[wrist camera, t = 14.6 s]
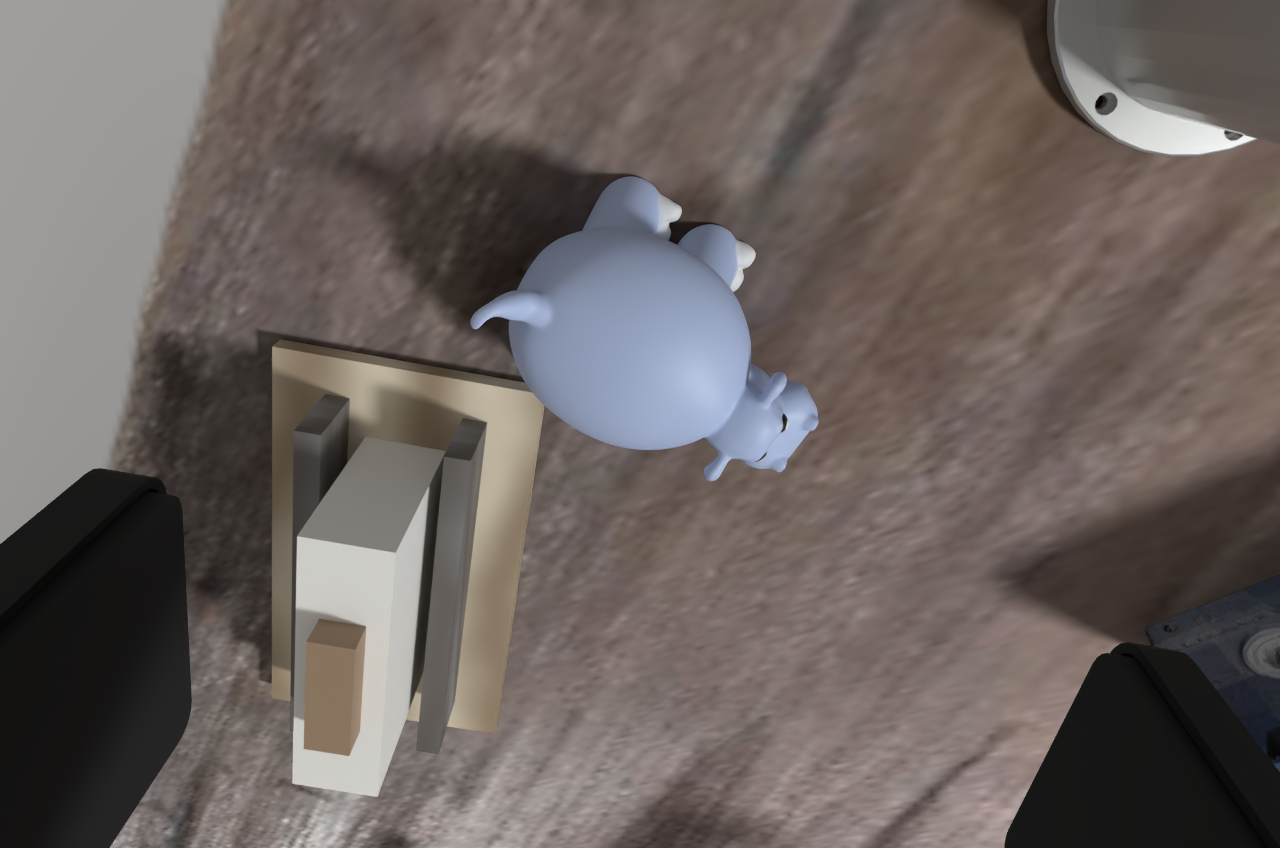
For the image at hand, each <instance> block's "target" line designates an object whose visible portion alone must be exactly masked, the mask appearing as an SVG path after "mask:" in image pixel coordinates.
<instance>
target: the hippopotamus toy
mask: <svg viewBox="0 0 1280 848" xmlns="http://www.w3.org/2000/svg"><path fill="white" fill-rule="evenodd" d="M681 213H682V209H681V207H680V206H679V205H678V204H676V203H674V202H673V201H671V200H670V199H668V198H667V197H665V196H663V195H661V194H660V193H659V192H658V191H657V189H656V188H655V187H654V186H653V185H652V184H651V183H649V182H647V181H646V180H644V179H642V178H639V177H631V176H630V177H623V178H620V179H617V180H615V181H614V182H612V183H611V184H610V185H608V186H607V187H606V188H605V190H604V191H603V192H602V193H601V195H600V197H599V198H598V200H597V202H596V204H595V206H594V208H593V210H592V212H591V214H590V216H589V218H588V220H587V222H586V224H585V226H584V228H583V229H582V231H579V232H576V233H572V234H569V235H566V236H564V237H562V238H560V239H558V240H556V241H554V242H553V243H551V244H550V245H548V246H547V247H546V248H545V249H544V250H543V251H542V252H541V253H540V254H539V255H538V256H537V257H536V259H535V260H534V261H533V263H532V264H531V266H530V267H529V269H528V270H527V272H526V274H525V275H524V277H523V279H522V281H521V283H520V285H519V287H518V289H517V290H515V291H510V292H507V293H504V294H502V295H500V296H499V297H497V298H495V299H494V300H492V301H491V302H489V303H488V304H486V305H484V306H483V307H482V308H480V309H479V310H478V311H476V312H475V313H474V315H473V316H472V318H471V321H470V324H471V327H472V328H473V329H478V328H479V327H480V326H481V325H482V324H483V323H484V322H486V321H487V320H488V319H490V318H492V317H502V318H505V319H509V339H510V345H511V349H512V353H513V357H514V360H515V362H516V365H517V368H518V370H519V372H520V374H521V376H522V378H523V380H524V381H525V383H526V384H527V386H528V387H529V389H530V390H531V391H532V393H533V394H534V395H535V396H536V397H537V398H538V399H539V400H540V401H541V402H542V403H543V404H544V405H545V406H546V407H547V408H548V409H549V410H550V411H551V412H553V413H554V414H555V415H556V416H558V417H559V418H560V419H562V420H563V421H564V422H566V423H567V424H569V425H570V426H572V427H574V428H575V429H577V430H579V431H581V432H582V433H584V434H586V435H588V436H590V437H593V438H595V439H597V440H600V441H602V442H605V443H608V444H612V445H615V446H619V447H624V448H630V449H639V450H658V449H668V448H673V447H678V446H682V445H686V444H689V443H692V442H695V441H697V440H699V439H701V438H706V439H707V441H708V442H709V443H710V444H711V445H712V446H713V447H714V448H715V449H716V450H717V451H718V456H717V458H716V459H715V460H714V461H713V462H712V463H711V464H709V465H707V466H706V467H705V469H704V476H705V478H706V479H707V480H709V481H714V480H716V479H718V478H719V476H720V475H721V473H722V471H723V469H724V468H725V466H726V464H727V463H728V461H729V460H730V459H733V458H734V459H741V460H742V461H743V462H744V463H746V464H747V465H749V466H751V467H754V468H758V469H768V468H772V469H774V470H775V471H777V472H781V471H783V469H784V468H785V467H786V464H787V459H788V458H789V457H790V456H791V455H792V453H793V452H794V451H795V449H796V448H797V447H798V446H799V444H800V443H801V442H802V440H803V439H804V438H805V436H806V435H807V434H808V433H809V431H812V430H814V429H815V428H816V427H817V425H818V419H817V416H818V412H817V408H816V405H815V403H814V402H813V400H812V398H811V396H810V394H809V392H808V390H807V388H806V387H805V386H804V385H803V384H801V383H799V382H795V381H787V378H786V375H785V374H784V373H783V372H776V373H774V374H773V375H772V376H771V378H770V376H769V375H768V374H766V373H765V372H764V371H763V370H761V369H760V368H758V367H756V366H754V365H752V364H751V341H750V335H749V330H748V326H747V322H746V319H745V316H744V314H743V311H742V309H741V306H740V304H739V302H738V300H737V298H736V297H735V295H734V293H733V292H734V291H736V290H737V289H738V288H739V287H740V285H741V283H742V281H743V278H744V275H743V269H744V268H747V267H749V266H750V265H751V264H752V262H753V261H754V259H755V255H756V254H755V251H754V249H753V248H752V247H751V246H749V245H748V244H746V243H744V242H741V241H738V240H736V239H735V237H734V236H733V235H732V233H731V232H730V231H728V230H727V229H725V228H724V227H722V226H719V225H714V224H707V225H702V226H699V227H696V228H694V229H692V230H691V231H689V232H688V233H687V234H686V235H685V236H684V237H683V238H682V239H681V240H680V241H679V243H678V244H677V245H676V244H674V243H672V242H670V241H669V239H670V236H671V229H670V227H669V223H670V222H674V221H677V220H678V219H679V218H680V216H681Z"/></svg>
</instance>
